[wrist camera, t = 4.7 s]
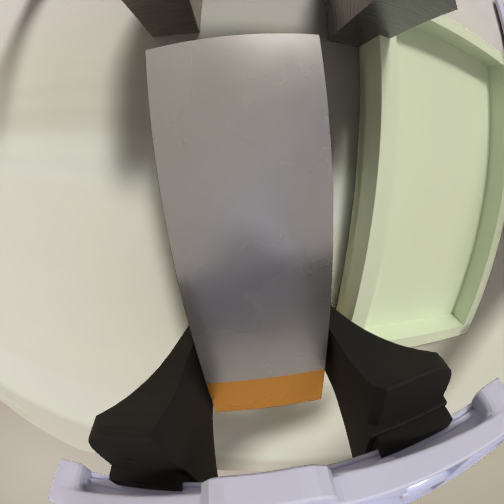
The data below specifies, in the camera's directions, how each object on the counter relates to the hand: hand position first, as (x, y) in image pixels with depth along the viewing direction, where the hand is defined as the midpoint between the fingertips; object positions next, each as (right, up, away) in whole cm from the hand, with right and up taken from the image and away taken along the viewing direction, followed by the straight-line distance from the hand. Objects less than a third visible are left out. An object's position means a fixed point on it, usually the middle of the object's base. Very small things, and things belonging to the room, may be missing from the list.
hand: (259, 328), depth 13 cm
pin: (0, +5, 0) cm, 5 cm away
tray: (+9, +7, -1) cm, 11 cm away
